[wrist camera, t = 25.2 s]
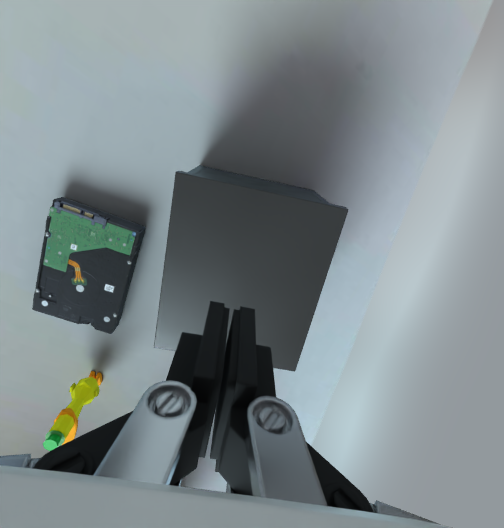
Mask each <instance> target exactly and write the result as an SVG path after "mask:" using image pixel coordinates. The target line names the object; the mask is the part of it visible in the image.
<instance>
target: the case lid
mask: <svg viewBox="0 0 504 528" xmlns="http://www.w3.org/2000/svg"><path fill="white" fill-rule="evenodd" d="M347 212H348V209H347V208H346V207H342V206H338V205H333V204H329V203H324V202H320V201H315V200H310V199H306V198H301V197H297V196H292V195H287V194H283V193H278V192H274V191H269V190H265V189H260V188H255V187H251V186H246V185H242V184H237V183H232V182H228V181H223V180H219V179H214V178H209V177H205V176H200V175H196V174H191V173H187V172H182V171H177V172H176V174H175V182H174V190H173V198H172V206H171V214H170V222H169V230H168V238H167V247H166V255H165V263H164V271H163V279H162V287H161V295H160V303H159V311H158V319H157V327H156V335H155V343H154V348H160V349H166V350H172V351H176V349H177V346H178V343H179V340H180V337H181V334H182V332H187V333H192V334H198V335H203V332H204V327H205V323H206V318H207V314H208V310H209V305H210V301H214V302H220V303H225V306H224V307H226V308H230V311H229V320H228V329H227V339H228V334H229V330H230V325H231V320H232V316H233V312H234V309H237V310H239V309H240V306H242V307H247V308H253V309H255V324H256V345H262V346H268V347H270V348H271V353H272V363H273V368H278V369H283V370H289V371H295V370H296V367H297V364H298V361H299V358H300V355H301V352H302V349H303V346H304V343H305V340H306V337H307V334H308V331H309V328H310V325H311V321H312V318H313V315H314V312H315V309H316V306H317V303H318V300H319V297H320V294H321V291H322V288H323V285H324V282H325V279H326V276H327V273H328V270H329V267H330V264H331V261H332V258H333V255H334V252H335V249H336V246H337V243H338V240H339V237H340V234H341V231H342V228H343V224H344V221H345V218H346V215H347ZM227 339H226V343H227Z"/></svg>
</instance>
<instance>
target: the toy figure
mask: <svg viewBox="0 0 504 528" xmlns="http://www.w3.org/2000/svg"><path fill="white" fill-rule="evenodd" d="M101 382H102V374H101V373H99V372H98V373H97V376H95V372H94V371H91V373H90V375H89V378H85V379H81V380H80V381H79V382H78V384H77V385H76V384H75V383H73V385H72V386H71V387H70V391H69V392H72V393H71V396H72V400H73V401H72V402H71V403H70V404H69V405H68V406H67V407H66V409H63V410H62V411H61V412H60V414H59V415H58V416H57V418H56V419H55V420H54V425H53V426H52V428H51V429H50V431H49V432H48V433H47V434H46V437H45V438H46V440H45V442H44V443H43V446H44V448H45V449H47V450H49V451H52V450H53V449H55V448H57V447H58V446H60V445H63V444H65V443H67V442H70V441H72V440H74V437H75V435H76V431H77V427H78V416H79V414H80V412H81V410H82V407H83V405H86V404H89V403H91V402H92V400H93V399H94V397H97V396H98V394H99V387H98V386H99V385H100V384H101Z"/></svg>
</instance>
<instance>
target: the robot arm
mask: <svg viewBox="0 0 504 528" xmlns="http://www.w3.org/2000/svg"><path fill="white" fill-rule="evenodd" d="M224 306H225V303H220V302H214V301H210V305H209V310H208V314H207V318H206V323H205V327H204V332H203V335H198V334H192V333H187V332H182V334H181V337H180V340H179V343H178V346H177V349H176V352H175V355H174V358H173V361H172V364H171V367H170V370H169V373H168V376H167V379H166V381H162V382H159V383H156V384H154V385H153V386H151V387H149V388H148V389H147V391H146V392H145V393H144V394H143V396H142V398H141V399H140V401H139V402H138V404H137V406H136V407H135V409H134V410H133V411H132V412H130V413H128V414H126V415H124V416H122V417H119V418H117V419H115V420H113V421H111V422H109V423H107V424H105V425H103V426H101V427H99V428H97V429H95V430H92V431H90V432H88V433H86V434H84V435H82V436H80V437H78V438H76V439H74V440H72V441H70V442H67V443H65V444H63V445H61V446H59V447H57V448H55V449H53V450H52V451H50V452H49V453H47V454H45V455H44V456H43V457H42V458H34V459H31V454H22V455H8V456H0V528H451V527H448V526H444V525H441V524H438V523H435V522H433V521H430V520H427V519H425V518H422V517H419V516H417V515H414V514H411V513H409V512H406V511H403V510H401V509H398V508H395V507H393V506H390V505H387V504H385V503H382V502H379V501H376V502H375V504H371V503H369V501H368V500H367V498H366V497H365V496H364V495H363V494H362V493H361V491H360V490H358V489H357V488H356V487H355V486H354V485H353V484H352V483H351V482H350V481H349V480H348V479H346V478H345V477H344V476H343V475H342V474H341V473H340V472H339V471H338V470H337V469H335V468H334V467H333V466H332V465H331V464H330V463H329V462H328V461H327V460H325V459H324V458H323V457H322V456H321V455H320V454H319V453H318V452H317V451H316V450H315V449H314V448H312V447H311V446H310V445H309V444H308V443H307V442H306V441H305V438H304V435H303V432H302V429H301V426H300V423H299V420H298V417H297V415H296V413H295V411H294V410H293V409H292V407H291V406H290V405H289V404H287V403H286V402H284V401H283V400H281V399H279V398H276V392H275V382H274V373H273V363H272V353H271V348H270V347H268V346H262V345H256V324H255V309H253V308H247V307H242V306H240V309H239V310H237V309H234V312H233V316H232V320H231V325H230V330H229V334H228V339H227V329H228V320H229V311H230V308H226V307H224ZM226 339H227V343H226ZM215 409H216V411H215ZM214 414H215V420H214V428H213V437H212V445H211V453H210V459H216V469H215V472H219V473H220V474H221V475H222V476H223V478H224V479H225V480H226V481H227V487H226V492H218V491H210V490H203V489H195V488H187V487H180V485H181V480H182V478H184V477H185V476H186V475H188V474H189V473H191V472H192V471H193V470H195V469H196V467H197V463H198V458H199V457H203V458H205V454H206V449H207V445H208V440H209V436H210V431H211V427H212V423H213V418H214Z"/></svg>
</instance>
